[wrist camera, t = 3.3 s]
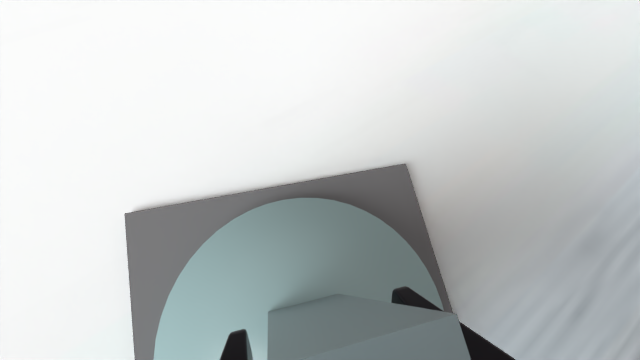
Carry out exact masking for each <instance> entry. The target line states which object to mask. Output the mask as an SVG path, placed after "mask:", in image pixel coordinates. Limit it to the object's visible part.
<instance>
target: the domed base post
mask: <svg viewBox="0 0 640 360" xmlns="http://www.w3.org/2000/svg"><path fill="white" fill-rule="evenodd" d="M403 286H407V287H409V288H411V289H412V290H414V291H415V292H417V293H418V294H419V295H421V296H422V297H424V298H425V299H427V300H428V301H430V302H431V303H433V304H434V305H436V306H437V307H439V308H440V309H442V310H443V311H444V309H443V305H442V302H441V299H440V297H439V294H438V291H437V289H436V286H435V284H434V282H433V280H432V278H431V276H430V274H429V272H428V270H427V268H426V267H425V265H424V264H423V262H422V261H421V259H420V258H419V256H418V255H417V254H416V252H415V251H414V250H413V249H412V248H411V246H410V245H409V244H408V243H407V242H406V241H405V240H404V239H403V238H402V237H401V236H400V235H399V234H398V233H397V232H396V231H395V230H394V229H393V228H391V227H390V226H389V225H387V224H386V223H384V222H383V221H382V220H380V219H379V218H377V217H375V216H373V215H372V214H370V213H368V212H366V211H364V210H362V209H360V208H357V207H355V206H352V205H350V204H346V203H342V202H339V201H335V200H329V199H322V198H294V199H285V200H280V201H276V202H272V203H268V204H265V205H262V206H260V207H257V208H255V209H252V210H250V211H248V212H246V213H244V214H242V215H240V216H238V217H237V218H235V219H233V220H232V221H230V222H229V223H227V224H226V225H225V226H223V227H222V228H220V229H219V230H218V231H216V232H215V233H214V234H213V235H212V236H211V237H210V238H209V239H208V240H207V241H206V242H205V243H203V244H202V246H201V247H200V248H199V249H198V250H197V252H196V253H195V254H194V255H193V256H192V257H191V259H190V260H189V261H188V263H187V264H186V266H185V267H184V269H183V270H182V272H181V273H180V275H179V276H178V278H177V280H176V282H175V284H174V286H173V288H172V290H171V292H170V294H169V296H168V299H167V301H166V304H165V307H164V310H163V312H162V315H161V318H160V323H159V327H158V331H157V335H156V341H155V350H154V359H153V360H219V359H220V357H221V354H222V352H223V349H224V346H225V344H226V341H227V338H228V336H229V334H230V333H231V332H233V331H237V330H241V329H246V331H247V334H248V338H249V342H250V346H251V351H252V357H253V360H471V358H470V355H469V352H468V349H467V346H466V342H465V339H464V336H463V333H462V330H461V327H460V323H459V320H458V317H457V314H455V313H449V312H443V311H437V310H431V309H425V308H419V307H413V306H407V305H401V304H395V303H391V300H392V291H393V290H394V289H395V288H399V287H403Z"/></svg>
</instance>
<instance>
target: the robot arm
mask: <svg viewBox="0 0 640 360" xmlns="http://www.w3.org/2000/svg"><path fill="white" fill-rule="evenodd" d="M391 303H395V304H401V305H407V306H413V307H419V308H425V309H431V310H437V311H443V310H442V309H440V308H439V307H437V306H436V305H434V304H433V303H431V302H430V301H428V300H427V299H425V298H424V297H422V296H421V295H419V294H418V293H417V292H415V291H414V290H412V289H411V288H409V287H407V286H403V287H399V288H395V289H394V290H393V291H392V300H391ZM443 312H445V311H443ZM459 323H460V327H461V330H462V333H463V336H464V339H465V342H466V346H467V349H468V352H469V355H470V358H471V360H515V359H514V358H512V357H511V356H509V355H508V354H506V353H505V352H503V351H502V350H501V349H499V348H498V347H496V346H495V345H493V344H492V343H490V342H489V341H487V340H486V339H484V338H483V337H481V336H480V335H478V334H477V333H475V332H474V331H473V330H471V329H470V328H468V327H467V326H465V325H464V324H462V323H461V322H459ZM219 360H253V357H252V351H251V346H250V342H249V338H248V334H247V331H246V329H241V330H237V331H233V332H231V333H230V334H229V336H228V338H227V341H226V344H225V346H224V349H223V352H222V354H221V357H220V359H219Z"/></svg>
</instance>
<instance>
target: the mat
mask: <svg viewBox="0 0 640 360" xmlns="http://www.w3.org/2000/svg"><path fill="white" fill-rule="evenodd" d="M294 198H322V199H329V200H335V201H339V202H342V203H346V204H350V205H352V206H355V207H357V208H360V209H362V210H364V211H366V212H368V213H370V214H372V215H373V216H375V217H377V218H379V219H380V220H382V221H383V222H384V223H386V224H387V225H389V226H390V227H391V228H393V229H394V230H395V231H396V232H397V233H398V234H399V235H400V236H401V237H402V238H403V239H404V240H405V241H406V242H407V243H408V244H409V245H410V246H411V248H412V249H413V250H414V251H415V252H416V254H417V255H418V256H419V258H420V259H421V261H422V262H423V264H424V265H425V267H426V268H427V270H428V272H429V274H430V276H431V278H432V280H433V282H434V284H435V286H436V289H437V291H438V294H439V297H440V299H441V302H442V305H443V309H444V311H445V312H449V313H453V312H452V309H451V305H450V302H449V299H448V296H447V293H446V290H445V286H444V283H443V280H442V277H441V274H440V271H439V267H438V264H437V261H436V258H435V255H434V252H433V248H432V245H431V242H430V239H429V236H428V233H427V229H426V226H425V223H424V220H423V217H422V214H421V210H420V207H419V204H418V201H417V198H416V195H415V191H414V188H413V185H412V182H411V179H410V176H409V172H408V169H407V166H406V164H401V165H395V166H389V167H384V168H378V169H373V170H367V171H361V172H356V173H350V174H344V175H339V176H333V177H328V178H322V179H316V180H311V181H305V182H299V183H294V184H288V185H283V186H277V187H271V188H266V189H260V190H255V191H249V192H243V193H238V194H232V195H226V196H221V197H215V198H210V199H204V200H198V201H193V202H187V203H181V204H176V205H170V206H165V207H159V208H153V209H148V210H142V211H136V212H131V213H125V226H126V240H127V254H128V269H129V283H130V297H131V311H132V326H133V340H134V354H135V360H153V359H154V350H155V341H156V335H157V331H158V327H159V323H160V318H161V315H162V312H163V310H164V307H165V304H166V301H167V299H168V296H169V294H170V292H171V290H172V288H173V286H174V284H175V282H176V280H177V278H178V276H179V275H180V273H181V272H182V270H183V269H184V267H185V266H186V264H187V263H188V261H189V260H190V259H191V257H192V256H193V255H194V254H195V253H196V252H197V250H198V249H199V248H200V247H201V246H202V244H203V243H205V242H206V241H207V240H208V239H209V238H210V237H211V236H212V235H213V234H214V233H215V232H216V231H218V230H219V229H220V228H222V227H223V226H225V225H226V224H227V223H229V222H230V221H232V220H233V219H235V218H237V217H238V216H240V215H242V214H244V213H246V212H248V211H250V210H252V209H255V208H257V207H260V206H262V205H265V204H268V203H272V202H276V201H280V200H285V199H294Z"/></svg>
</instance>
